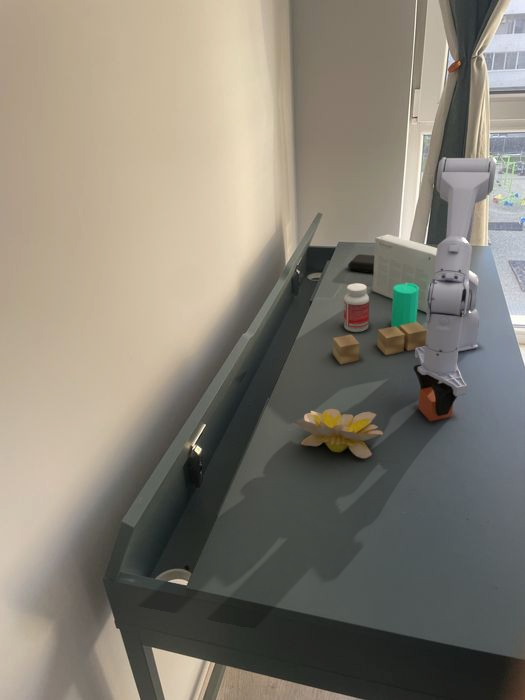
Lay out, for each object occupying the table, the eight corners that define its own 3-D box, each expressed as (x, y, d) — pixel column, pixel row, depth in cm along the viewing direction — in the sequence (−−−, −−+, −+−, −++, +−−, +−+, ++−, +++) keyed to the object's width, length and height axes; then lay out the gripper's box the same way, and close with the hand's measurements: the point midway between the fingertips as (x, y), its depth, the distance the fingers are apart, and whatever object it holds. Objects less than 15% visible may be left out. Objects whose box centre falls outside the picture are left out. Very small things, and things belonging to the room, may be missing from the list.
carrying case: (401, 264, 168) (357, 259, 174) (402, 255, 166) (357, 251, 173) (392, 276, 160) (346, 271, 166) (393, 267, 158) (346, 262, 164)
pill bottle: (373, 327, 132) (375, 287, 127) (355, 335, 130) (355, 294, 124) (356, 319, 137) (357, 279, 132) (338, 326, 134) (338, 286, 129)
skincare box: (443, 308, 139) (450, 250, 131) (429, 315, 136) (435, 256, 128) (385, 285, 154) (387, 232, 146) (371, 291, 152) (373, 237, 144)
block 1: (351, 351, 123) (351, 334, 121) (359, 360, 119) (359, 343, 117) (333, 354, 122) (333, 337, 120) (340, 364, 119) (340, 346, 116)
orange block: (438, 403, 103) (441, 384, 101) (451, 416, 100) (454, 397, 97) (417, 408, 103) (419, 389, 100) (429, 421, 99) (432, 402, 97)
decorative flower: (395, 422, 96) (390, 384, 90) (380, 473, 89) (374, 436, 83) (317, 411, 103) (308, 375, 96) (298, 457, 96) (287, 421, 89)
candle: (416, 321, 133) (420, 277, 127) (414, 333, 129) (418, 287, 123) (392, 320, 135) (395, 276, 129) (389, 330, 130) (392, 285, 125)
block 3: (415, 338, 126) (417, 321, 124) (425, 347, 122) (426, 330, 120) (398, 342, 125) (399, 325, 123) (407, 350, 122) (408, 333, 119)
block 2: (394, 342, 125) (395, 326, 123) (403, 351, 121) (404, 334, 119) (377, 346, 124) (377, 329, 122) (385, 355, 121) (386, 338, 118)
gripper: (402, 330, 99) (398, 390, 106) (443, 368, 87) (436, 433, 94) (436, 324, 100) (430, 383, 107) (481, 360, 88) (471, 425, 95)
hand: (435, 406), depth 100 cm, fingers closed on orange block, 4 cm apart
